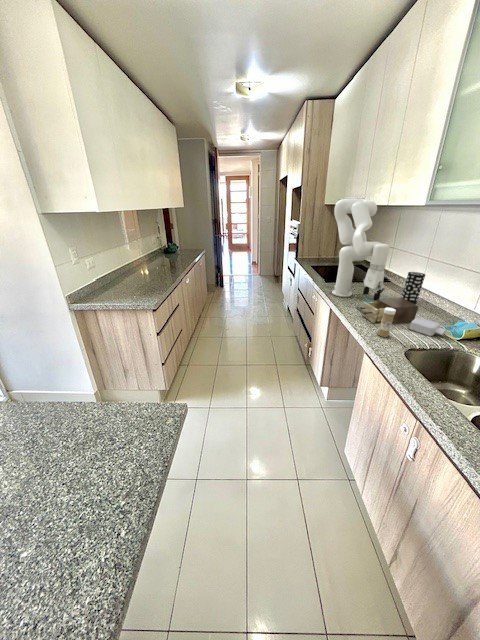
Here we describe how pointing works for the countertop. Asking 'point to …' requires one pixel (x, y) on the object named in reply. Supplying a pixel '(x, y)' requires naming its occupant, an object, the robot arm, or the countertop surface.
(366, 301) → the pod
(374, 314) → the tray
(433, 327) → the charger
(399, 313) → the cabinet
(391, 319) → the sprinkles bottle
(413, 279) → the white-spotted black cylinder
